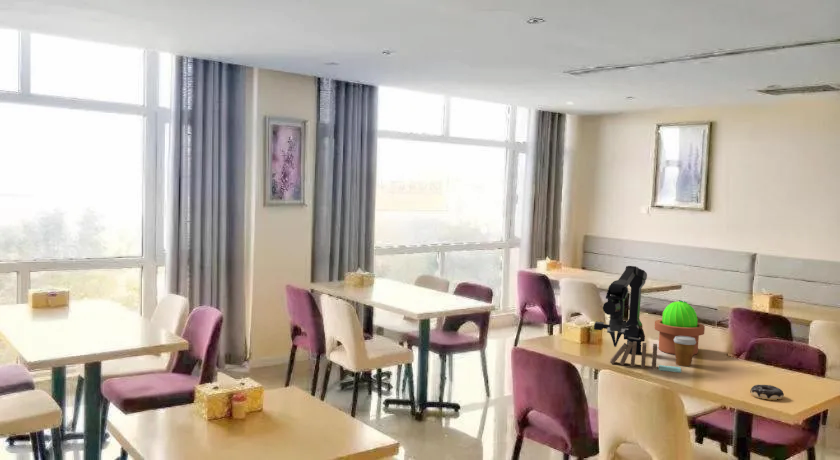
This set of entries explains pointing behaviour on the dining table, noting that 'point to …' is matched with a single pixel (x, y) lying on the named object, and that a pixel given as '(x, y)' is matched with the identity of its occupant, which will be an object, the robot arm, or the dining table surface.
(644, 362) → the domino
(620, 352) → the domino
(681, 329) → the potted cactus
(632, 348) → the domino
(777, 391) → the donut
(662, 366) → the mat
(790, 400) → the dining table surface
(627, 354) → the domino
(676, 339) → the disposable coffee cup
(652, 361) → the domino
